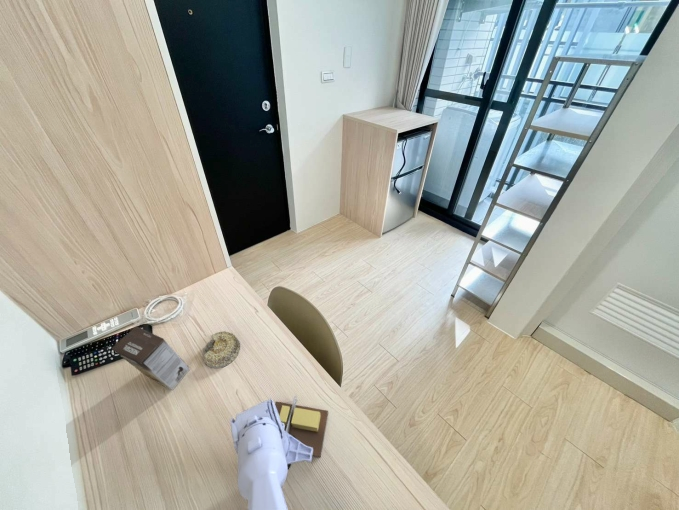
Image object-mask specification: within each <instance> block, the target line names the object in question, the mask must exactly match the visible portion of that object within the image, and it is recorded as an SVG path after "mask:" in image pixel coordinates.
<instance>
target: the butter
mask: <svg viewBox="0 0 679 510" xmlns="http://www.w3.org/2000/svg"><path fill="white" fill-rule="evenodd" d="M320 417H321V415H320V412H317V411H312V410H306V409H300V408H295V409H294V413H293V417H292V421H291V424H292V426H293V427H295V428H301V429H306V430H311V431H317V432H318V428H319V423H320Z"/></svg>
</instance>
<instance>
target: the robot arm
mask: <svg viewBox="0 0 679 510" xmlns="http://www.w3.org/2000/svg"><path fill="white" fill-rule="evenodd" d="M284 428H285V425H284V423H281V420H280V417H279V414H278V411H277V408H276V406H275V401H274V400H273V399H272V398H271V397H270V399H268V400H267V399H265V400H263V401H261V402H259V403H257V404H255V405H254V406H251V407H249V408H247V409H245V410H244V411H242V412H240V413H237V414H236V415H235V418H234V417H231V418H230V431H231V437H232V441H233V448H234V449H235V452H236V455H237V489H238V492H239V493H240V495H241V497H242V498H243V499H245V500H246V501H247V510H289V509H288V508H289V507H288V505H287V502H286V497H285V495H284V491H283V488H282V487H283V486H284V484H285V482H286V480H287V477H288V472H289V470H290V469H291V465H293V464H295V463H299V462H300V463H301V462H305V463H306V462H307V463H312V461H313V460H312V459H313V456H312V455H313V448H312V447H308V446H306V445H304V444H303V443H301V442H300V441H298V440H297V439H296V437H295V436H294V435H291V434H288V433H287V432H286V431H284Z"/></svg>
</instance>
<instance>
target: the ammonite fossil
mask: <svg viewBox="0 0 679 510" xmlns="http://www.w3.org/2000/svg"><path fill="white" fill-rule="evenodd" d="M210 338H211V339H210V340H209V341H208V342H207V344H206V345H205V346H204V348H203V351H202V360H203V362H204V364H205V365H206V366H208V367H210V368H212V369H221V368H224V367H226V366H228V365H230V364H232V363H233V362H234V361H235V359H236V358H237V357H238V355H239V353H240V350H241V344H240V341H239V338H237V337H236V335H235V334H233V333H232V332H229V331H225V330H223V331H221V330H220V331H219V332H218V331H217V332H215V333H213V334H211V335H210Z"/></svg>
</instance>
